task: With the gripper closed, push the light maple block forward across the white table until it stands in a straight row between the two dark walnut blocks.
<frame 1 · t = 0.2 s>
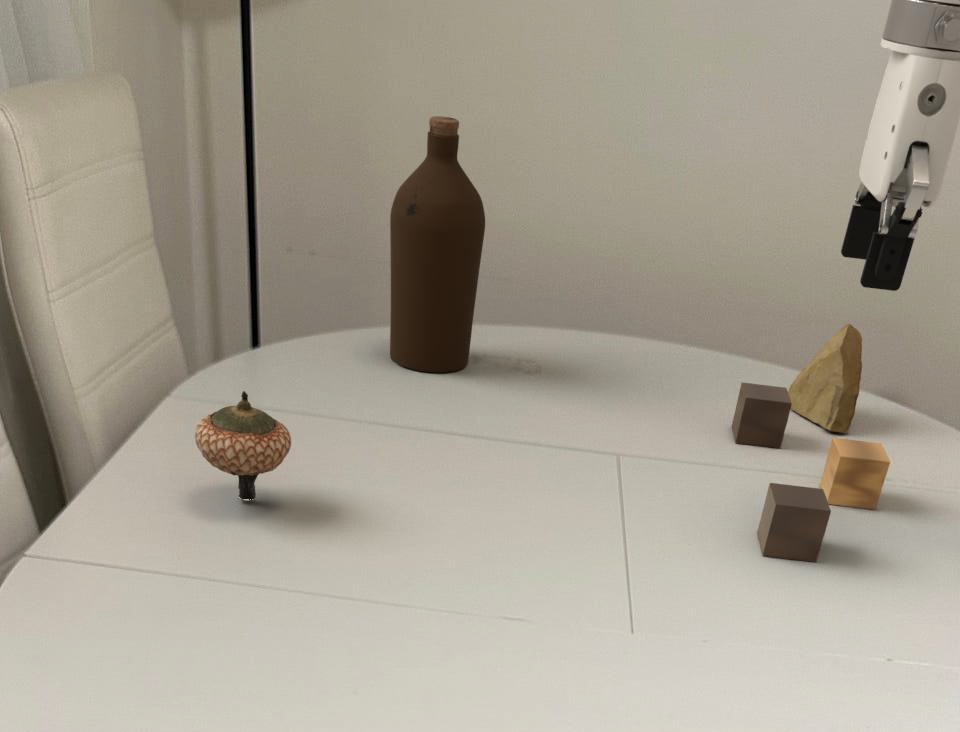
hand: (868, 272, 102), 23 cm above the table, tool pointing down, fingers open, 9 cm apart
maple block: (846, 497, 123), on the table
walnut block 1: (755, 437, 134), on the table
rock: (814, 419, 141), on the table
walnut block 2: (786, 547, 113), on the table
acorn: (245, 503, 110), on the table
olive oil: (429, 361, 144), on the table
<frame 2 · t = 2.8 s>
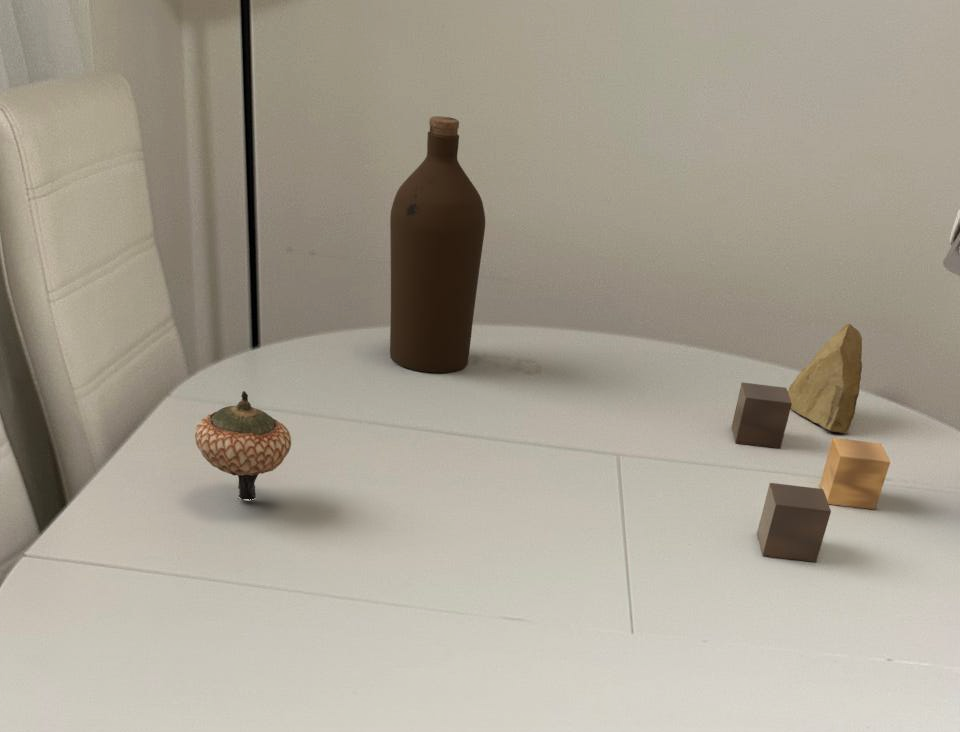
nothing on the table moved.
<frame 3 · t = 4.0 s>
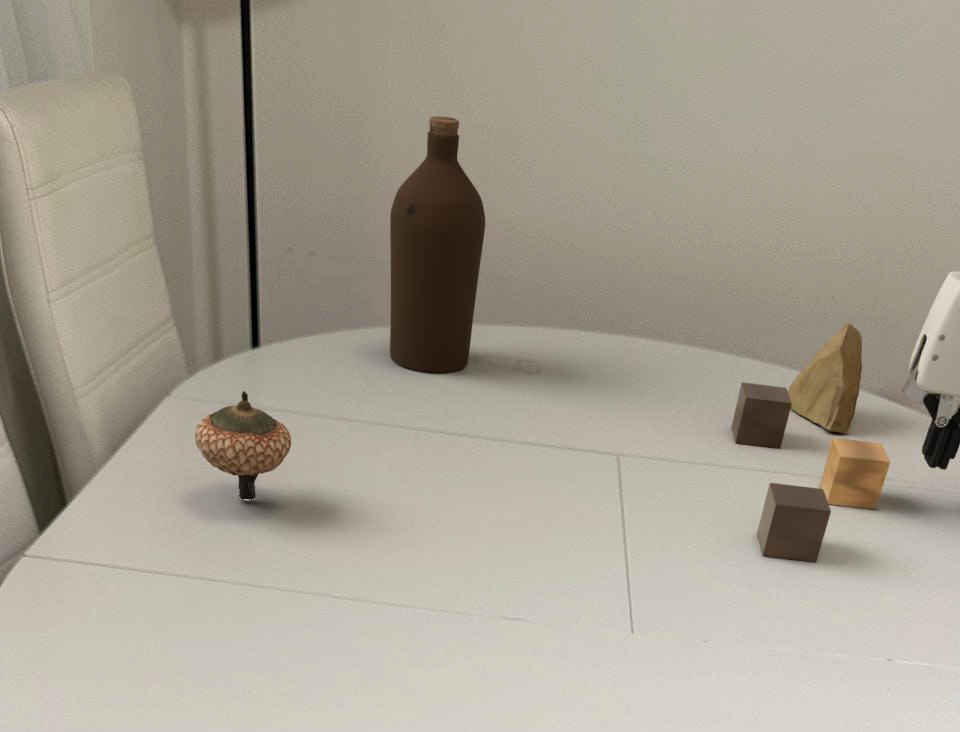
hand: (934, 463, 120), 5 cm above the table, tool pointing down, fingers closed
nothing on the table moved.
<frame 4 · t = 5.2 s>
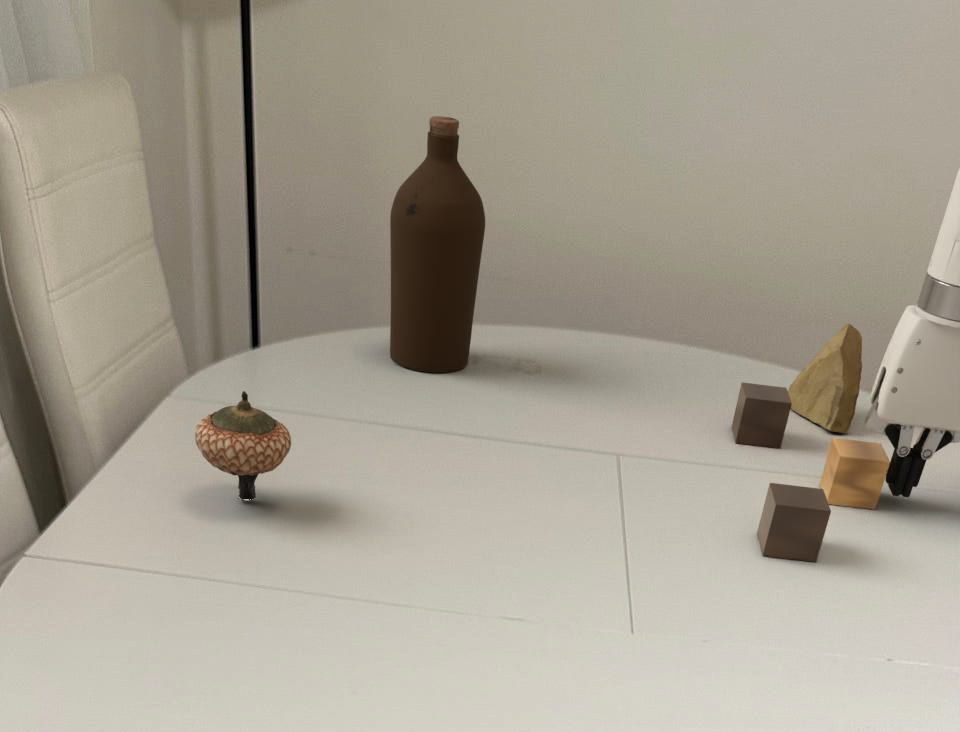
hand: (898, 491, 123), 1 cm above the table, tool pointing down, fingers closed
maple block: (846, 497, 123), on the table, touching gripper
everything else where it was.
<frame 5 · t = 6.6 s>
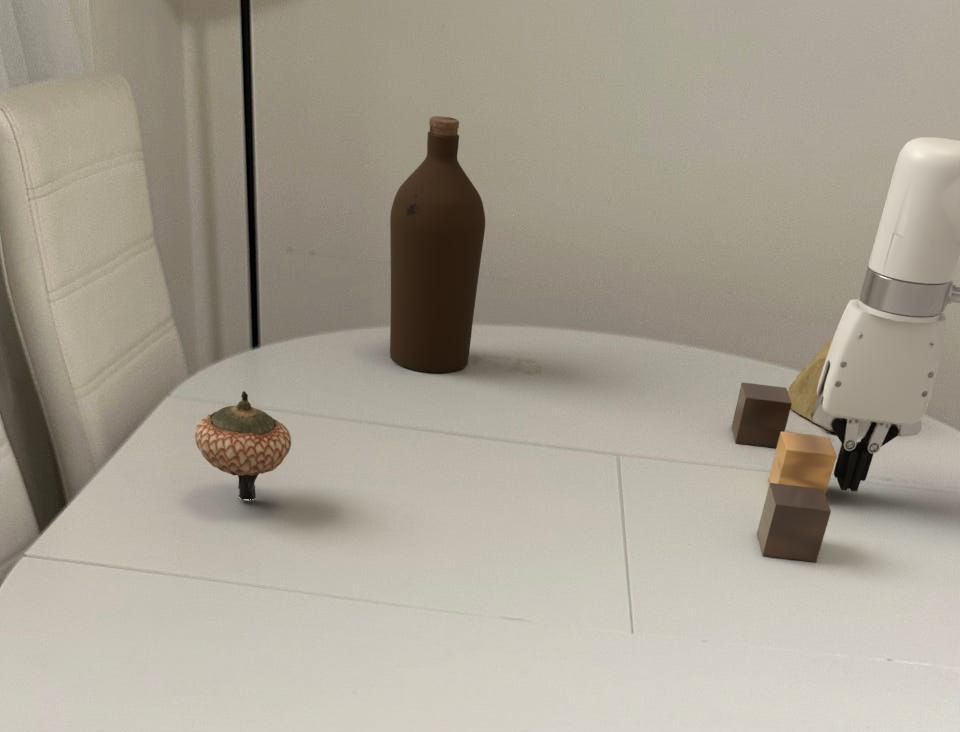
hand: (846, 485, 123), 1 cm above the table, tool pointing down, fingers closed
maple block: (795, 490, 123), on the table, touching gripper
everything else where it was.
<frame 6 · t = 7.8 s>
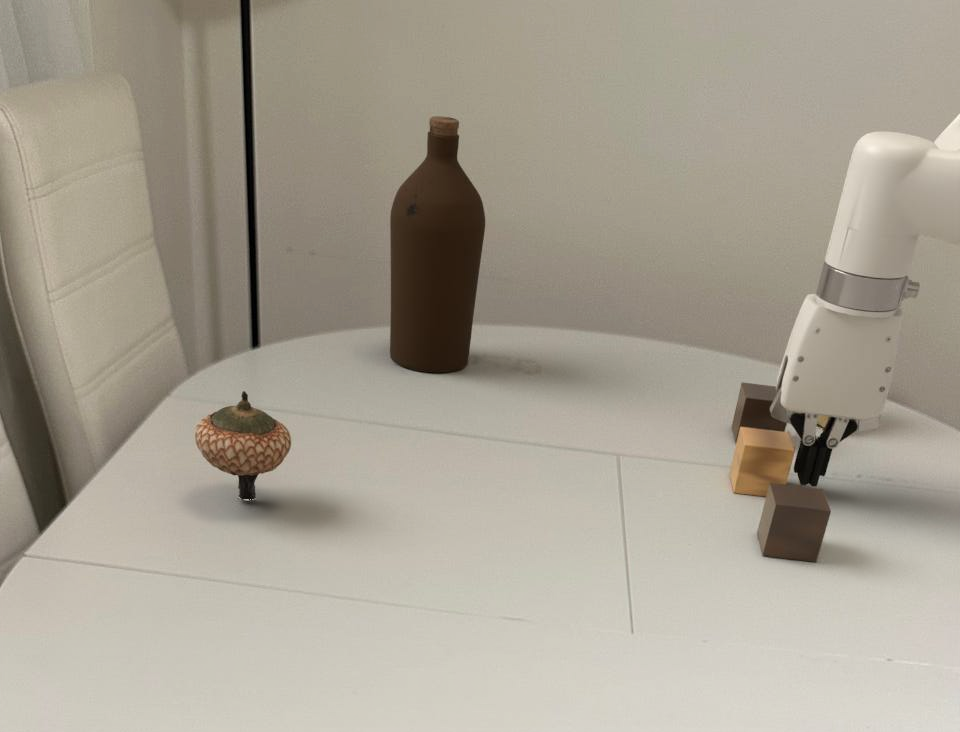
hand: (806, 480, 123), 1 cm above the table, tool pointing down, fingers closed
maple block: (755, 486, 123), on the table, touching gripper
everything else where it was.
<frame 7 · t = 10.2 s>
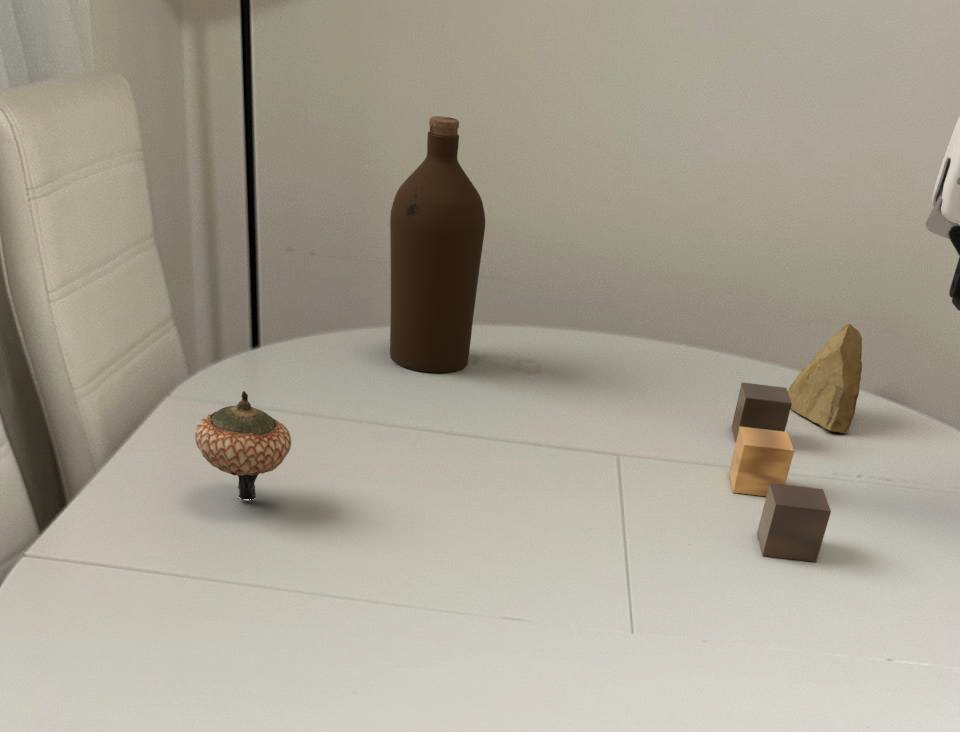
maple block: (754, 485, 123), on the table
everything else where it was.
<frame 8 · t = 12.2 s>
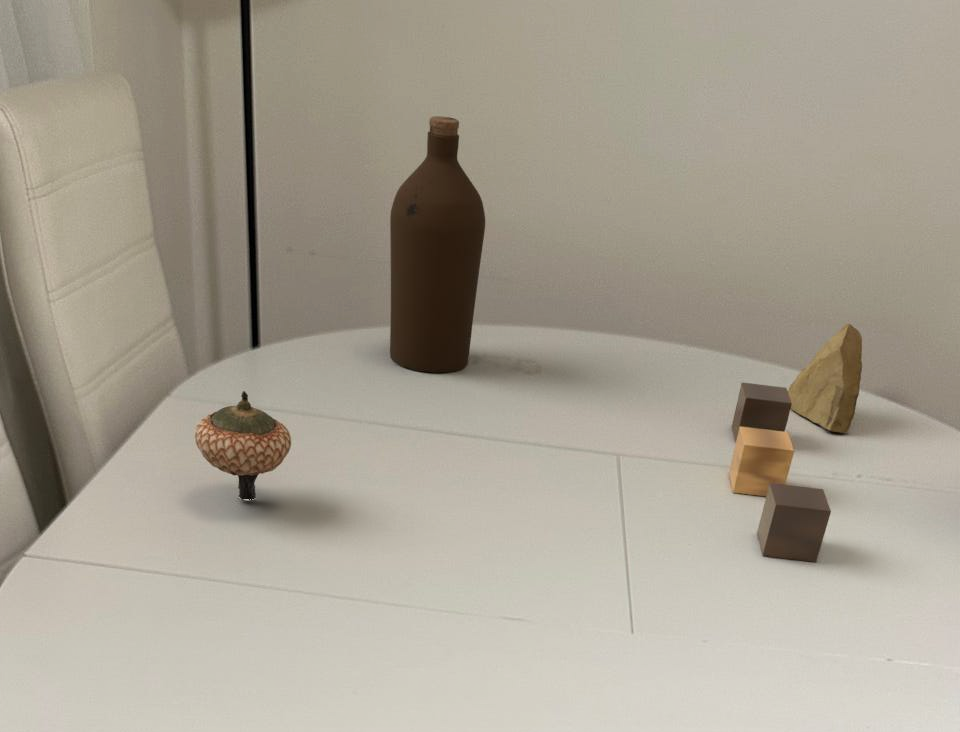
nothing on the table moved.
at the end: maple block 1.5 cm from the target spot on the table beside the walnut block 2, on the table; maple block 1.5 cm from the target spot on the table beside the walnut block 1, on the table; maple block tilted 0° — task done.
